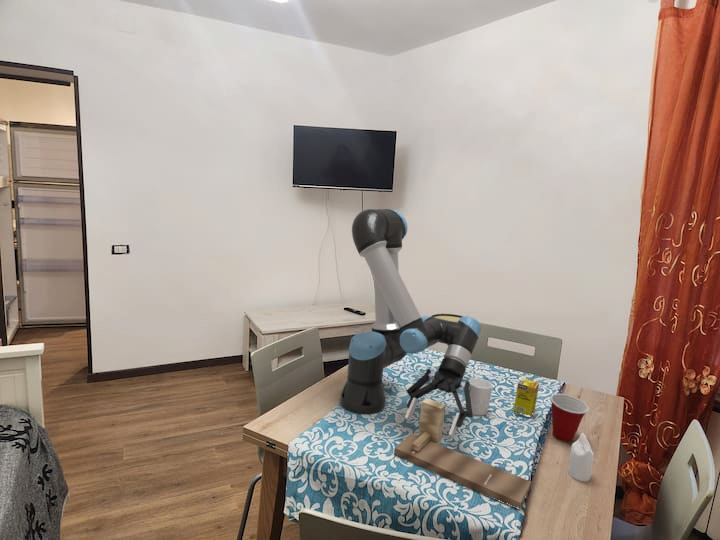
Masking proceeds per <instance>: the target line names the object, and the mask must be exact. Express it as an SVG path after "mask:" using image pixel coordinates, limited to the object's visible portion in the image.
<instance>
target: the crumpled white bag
mask: <svg viewBox="0 0 720 540" xmlns="http://www.w3.org/2000/svg"><path fill="white" fill-rule="evenodd" d="M569 454H570V455H569V459H568V471H567V472H568V473H567V474H568V475H569V476H570V477H572V478H573V479H575V480H577V481H580V482H584V483H585V482H586V483H587V482H589V481H590V480H591V475H592V474H591V473H592V470H593V469H592V468H593V463H594V455H595V453H594V452H593V450H592V447H591V444H590V442H589V440H588V438H587V436H586V434H585V433H584V432H582V433H581V434H580V435H579V438H577V440H576V441H575V442H573V443H572V444H571V449H570V453H569Z"/></svg>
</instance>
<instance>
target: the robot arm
mask: <svg viewBox="0 0 720 540" xmlns="http://www.w3.org/2000/svg"><path fill="white" fill-rule="evenodd" d="M407 233H408V223H407V220H406V218H405V217H404V215H403V213H401V212H399V211H398V210H395V209H390V208H384V209H383V208H382V209H381V208H377V209H376V208H375V209H374V208H372V209H371V208H369V209H363V210H362V211H360V212H359V213H358V214H357V215H356V216H355V217H354V219H353V222H352V224H351V234H352V235H351V236H352V239H353V244H354V246H355V248H356V250H357V253H358V255H359V256H360V257H361V258H364V259H365V261H366V265H368V267H369V269H370V271H371V273H372V275H373V280H374V281H373V283H374V284H373V285H374V308H375V309H374V312H375V321H374V323H373V324H371V331H368V330H367V331H366V332H365V331H361V332H358V333H356V334H354V335H353V336H352V337H351V339H350V344H349V347H348V364H347V365H348V366H347V379H346V382H345V384H344V386H343V389H342V391H341V393H340V399H339V401H340V405H341V406H342V407H343V408H344V409H346V410H347V411H349V412H353V413H357V414H365V415H369V414H374V413H378V412H381V411H382V410H384V409H385V407H386V396H385V395H386V394H385V391H384V386H383V374H384V369H386V368H387V367H389V366H391V365H393V364H395V363H398V362H399V361H402V359H404V358H405V357H406V356H408V355H409V354H411V355H414V354H418V353H422V352H424V351H425V350H426V349H428V348H430V347H432V346H434V345H436V344H438V343H441V344H445V345H447V344H448V345H447V348H446V350H445V353H444V354H443V358H442V359H441V362H440V365H439V367H438V370H437V372H434V371H431V369H427V370H426V371H425V373H424V374H423V375H422V376H421V377H420V378H419V379H418V380H416V382H414V384H412V385H411V386H409V388H407V389H406V393H407V395H408V396H409V397H410V398H409V399H408V403H407V405H406V407H407V411H406V414H405V416H404V418H405V420H406V421H407V422H410V421H411V420H412V417H413V416H414V413H415V410H416V408H417V406H418V403H419V401H418V400H419V399H420V398H422V397H424V396H425V395H427V394H429V393H431V392H433V391H437V390H439V391H441V392H446V393H447V394H450V393H452V396H453V398H454V400H455V403H456V406H457V408H458V411H459V412H456V414H455V416H454V419H453V421H452V425H451V427H450V430H449V433H448V436H449V438H451V439H454V437H455V435H456V432H457V429H458V428H460V429H461V427H462V426H463V423H464V420H465V418H473V415H474V414H472V406H471V399H470V389H471V385H470V383H469V380H468V381H463V378H464V375H465V372H466V370H467V367H468V366H469V365H468V364H469V363H470V360H471V358H472V354H473V352H474V349H475V348H476V345H477V342H478V340H479V339H480V338H479V337H480V335H481V334H480V333H481V331H482V325H481V323H480V322H479V320H478V319H476V318H474V317H471V316H468V315H465V316H463V315H462V316H463V317H461V318H460V319H459V320H458V322H452V321H448V320H443V319H439V318H435V317H431V316H429V315H424V316H421V314H420V312H419V310H418V308H417V306H416V305H415V303H414V300H413V298H412V297H411V295H410V292H409V291H408V288H407V287H406V284H405V282H404V281H403V279H402V276H401V275H400V273H399V252H400V251H401V250H402V249H403V240H404V238H405V237H406V235H407ZM433 378H435V380H434V381H432V379H433ZM430 380H431V381H430ZM429 381H430V383H428V382H429ZM427 383H428V384H427ZM426 384H427V385H426ZM461 387H462V389H463V391H464V399H465V409H466V410H465V409H464V407H463V404H462V402H461V399H460V396H459V394H458V391H457V389H459V388H461Z"/></svg>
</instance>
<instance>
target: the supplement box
mask: <svg viewBox="0 0 720 540" xmlns="http://www.w3.org/2000/svg"><path fill="white" fill-rule="evenodd" d="M539 386H540V382H538V381H535V380H530V379H528V378H523V377H521V379H520V380H519V381H518V383H517V387H516V392H515V393H516V394H515V400H514V405H513V411H514V412H517V413H522V414H526V415H530V416H531V415H532V413H533V412H534V413H535V411H534V410H536V405H537V398H538V393H539V392H538V391H539ZM534 413H533V414H534ZM532 416H533V415H532Z"/></svg>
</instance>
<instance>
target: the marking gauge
mask: <svg viewBox="0 0 720 540" xmlns="http://www.w3.org/2000/svg"><path fill="white" fill-rule="evenodd" d="M445 411H446V404H444V403H441V402H439V401H436V400H434V399H430V398H427V397H426V398H424V400H422V401H421V405H420V413H419V414H420V416H419V423H418V424H419V425H418V433H417V435H418V436H420V437H419V438H418V439H417V440H416V441H415V442H414V443H412V449H413V450H415V451H419V450H420V449H421V448H422V447H423V446H424V445H425V444H426V443H427V442H428V441H429V440H430V441H432V442H435V443H437V444H440V445H441V444H442V436H443V430H444V429H443V428H444V421H445V420H444V419H445Z"/></svg>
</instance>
